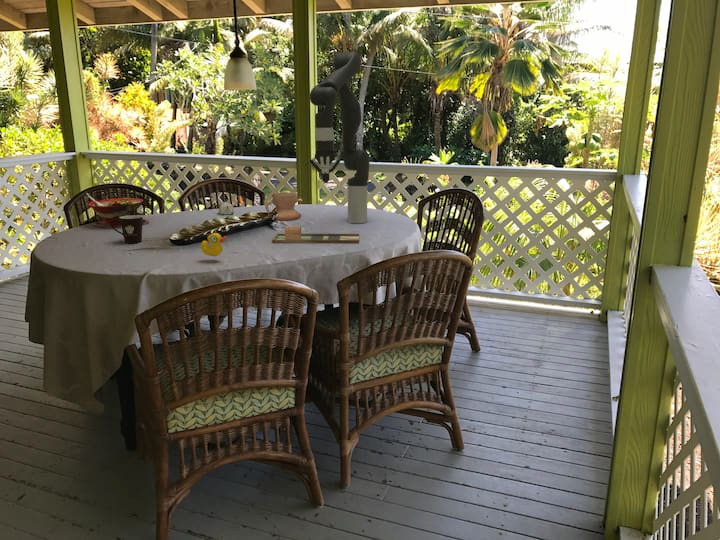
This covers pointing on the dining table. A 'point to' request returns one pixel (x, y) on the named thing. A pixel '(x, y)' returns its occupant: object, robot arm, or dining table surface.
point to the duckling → (213, 245)
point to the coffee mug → (130, 228)
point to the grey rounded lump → (226, 208)
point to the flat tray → (306, 239)
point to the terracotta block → (292, 233)
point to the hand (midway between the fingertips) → (325, 182)
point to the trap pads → (323, 236)
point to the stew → (115, 209)
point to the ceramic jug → (285, 206)
